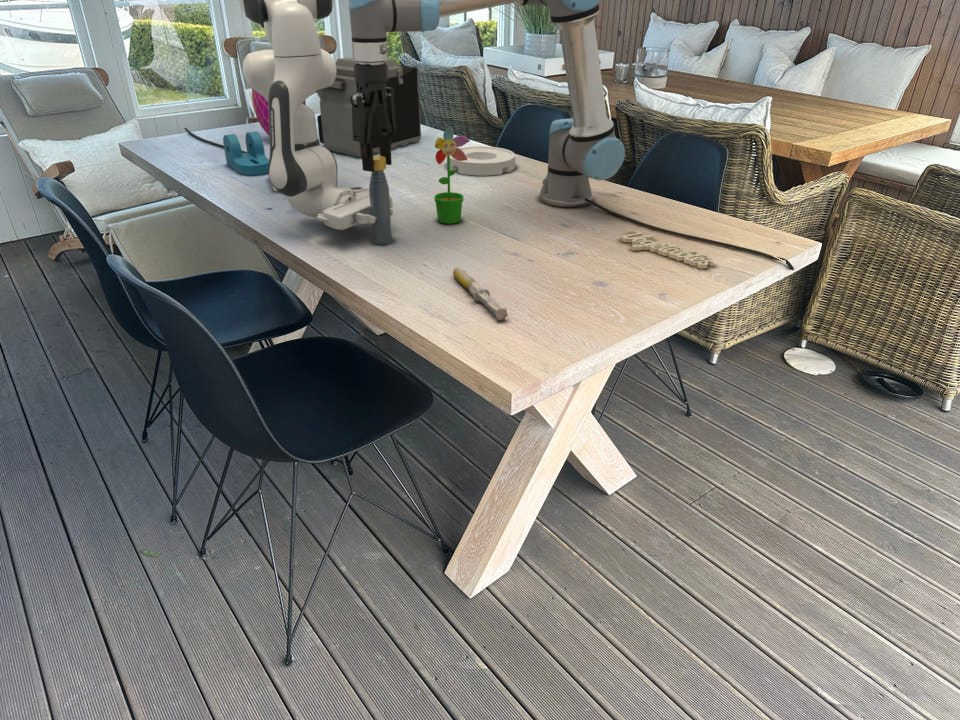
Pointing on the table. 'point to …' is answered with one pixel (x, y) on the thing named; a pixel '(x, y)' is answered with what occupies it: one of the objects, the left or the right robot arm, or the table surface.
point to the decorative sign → (666, 249)
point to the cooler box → (339, 109)
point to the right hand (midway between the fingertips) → (377, 167)
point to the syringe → (479, 293)
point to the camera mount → (246, 154)
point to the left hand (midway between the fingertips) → (383, 216)
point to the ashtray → (484, 161)
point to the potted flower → (449, 201)
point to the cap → (379, 162)
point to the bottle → (380, 208)
